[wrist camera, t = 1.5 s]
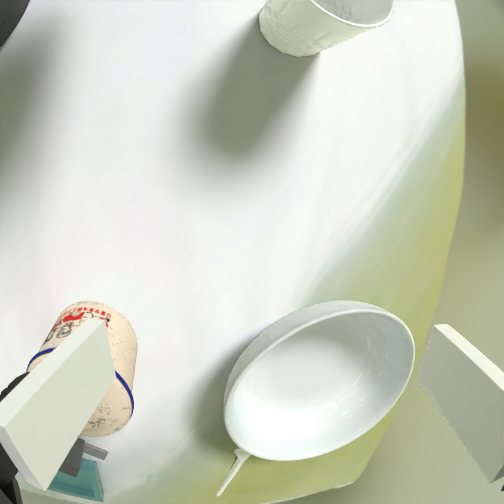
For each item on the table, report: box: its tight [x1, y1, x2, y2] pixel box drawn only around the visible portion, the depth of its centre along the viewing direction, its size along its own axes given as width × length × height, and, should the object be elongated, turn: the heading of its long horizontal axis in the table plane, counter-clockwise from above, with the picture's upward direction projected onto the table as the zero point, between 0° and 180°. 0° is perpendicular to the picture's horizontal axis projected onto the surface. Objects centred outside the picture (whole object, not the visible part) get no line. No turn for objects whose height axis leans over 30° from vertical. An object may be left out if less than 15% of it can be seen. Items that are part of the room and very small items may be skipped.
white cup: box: [259, 0, 395, 57], centre depth 18 cm, size 8×8×10 cm
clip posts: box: [58, 438, 108, 478], centre depth 27 cm, size 16×3×5 cm, turn 57°
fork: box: [216, 446, 251, 496], centre depth 37 cm, size 3×20×2 cm, turn 161°
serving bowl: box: [223, 301, 415, 461], centre depth 30 cm, size 21×21×7 cm
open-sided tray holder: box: [47, 459, 104, 502], centre depth 31 cm, size 11×11×2 cm
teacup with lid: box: [26, 301, 138, 436], centre depth 21 cm, size 12×9×12 cm
